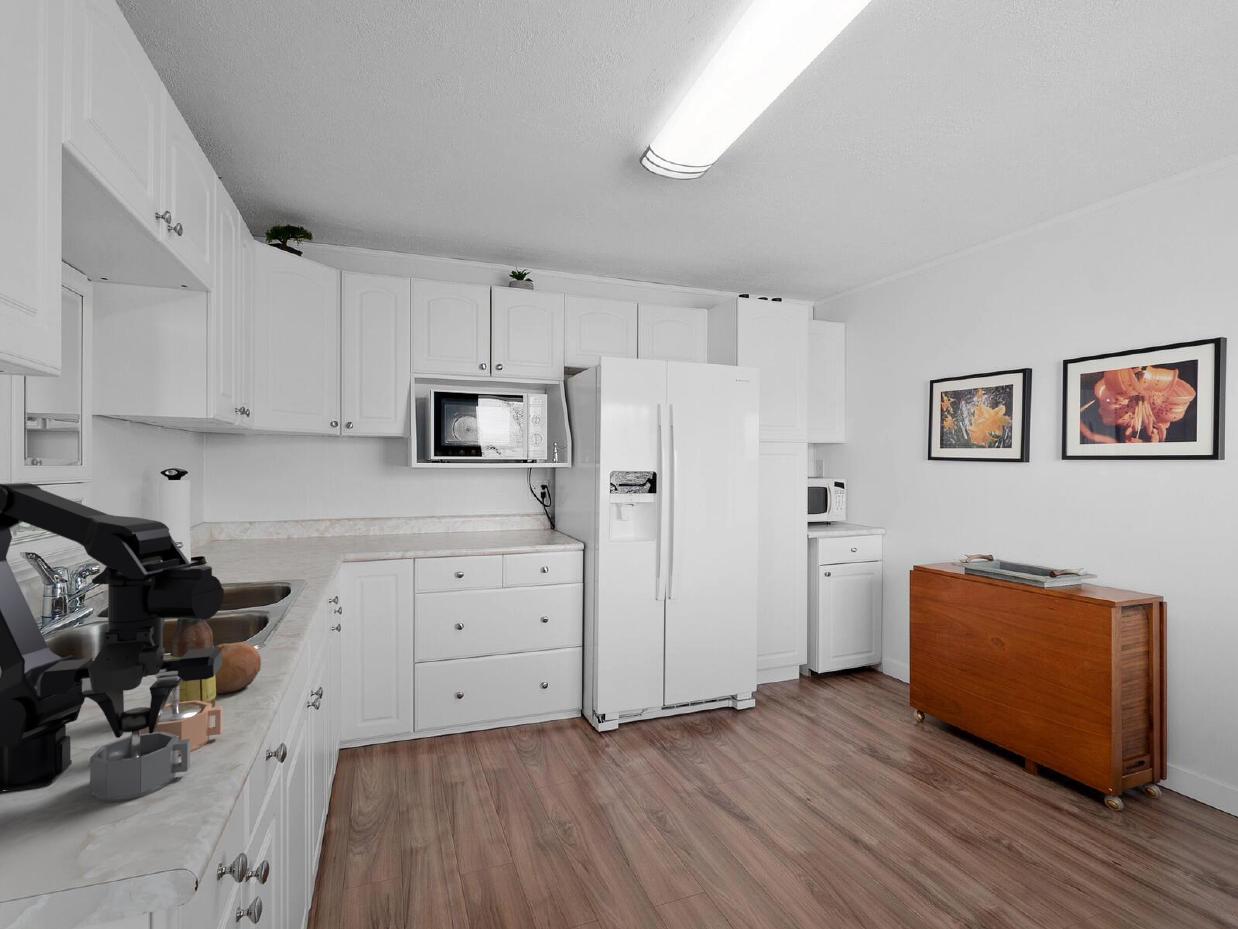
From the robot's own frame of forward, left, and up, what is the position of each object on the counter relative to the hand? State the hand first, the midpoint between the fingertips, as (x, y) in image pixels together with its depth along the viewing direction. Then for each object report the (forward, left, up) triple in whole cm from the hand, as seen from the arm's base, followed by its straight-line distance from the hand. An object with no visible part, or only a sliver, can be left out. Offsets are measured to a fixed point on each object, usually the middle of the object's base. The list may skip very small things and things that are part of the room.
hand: (135, 734), depth 83 cm
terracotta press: (+1, +12, -7) cm, 13 cm away
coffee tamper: (0, 0, -5) cm, 5 cm away
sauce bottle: (0, +26, -7) cm, 26 cm away
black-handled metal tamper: (+1, +11, -2) cm, 12 cm away
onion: (+4, +35, -7) cm, 35 cm away
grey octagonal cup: (0, 0, -7) cm, 7 cm away
